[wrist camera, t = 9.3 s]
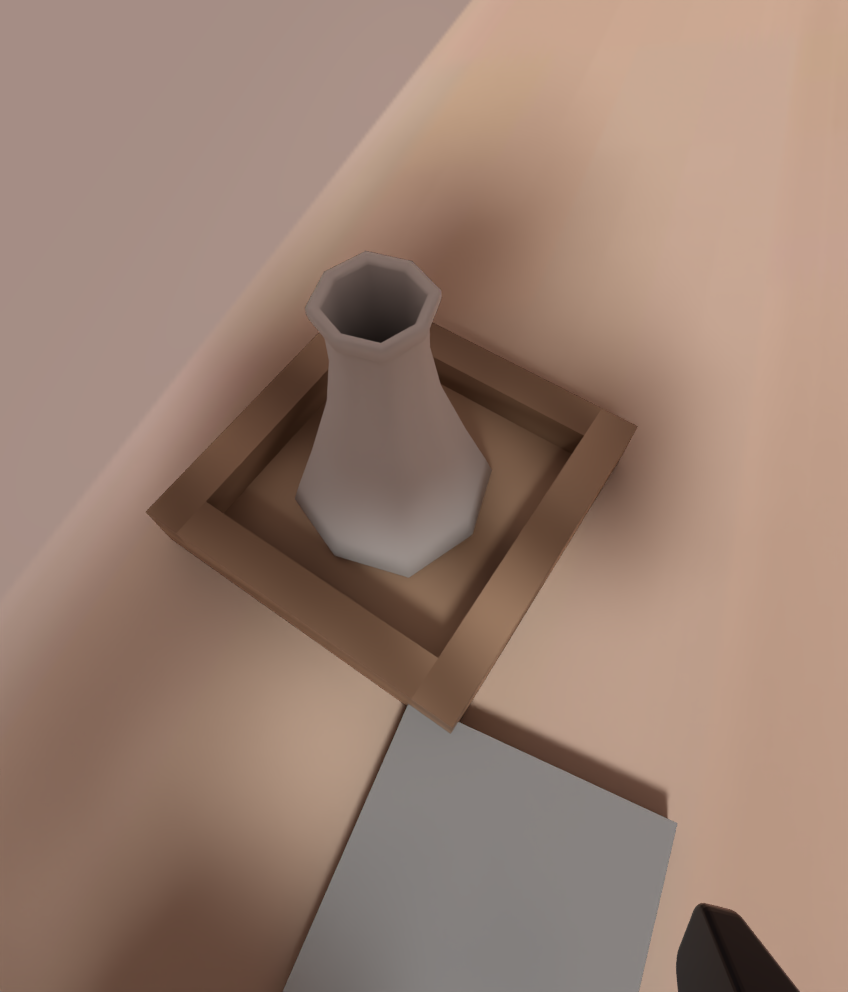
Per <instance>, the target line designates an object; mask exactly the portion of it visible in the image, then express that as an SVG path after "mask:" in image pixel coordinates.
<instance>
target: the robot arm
mask: <svg viewBox="0 0 848 992" xmlns="http://www.w3.org/2000/svg"><path fill="white" fill-rule="evenodd" d="M676 974H677V985H678V992H800V991H799V990H798V989H797V987H796V986H795V985H794V984H793V982H792V981H791V980H790V978H789V977H788V976H787V975H786V973H785V972H784V971H783V969H782V968H781V967H780V966H779V964H778V963H777V962H776V961H775V959H774V958H773V957H772V955H771V954H770V953H769V952H768V950H767V949H766V948H765V946H764V945H763V944H762V943H761V941H760V940H759V939H758V938H757V936H756V935H755V934H754V932H753V931H752V930H751V929H750V927H749V926H748V925H747V923H746V922H745V921H744V920H743V919H742V917H741V916H740V915H738V914H737V913H736V912H735V911H733V910H730V909H726V908H722V907H718V906H714V905H710V904H706V903H700V904H698V905H697V906H696V907H695V909H694V911H693V913H692V916H691V919H690V921H689V924H688V926H687V929H686V931H685V934H684V937H683V939H682V942H681V944H680V947H679V950H678V954H677V962H676Z"/></svg>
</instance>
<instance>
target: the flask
mask: <svg viewBox="0 0 848 992" xmlns="http://www.w3.org/2000/svg"><path fill="white" fill-rule="evenodd" d="M441 298H442V291H441V290H440V289H439V288H438V287H437V286H436V285H435V284H434V283H433V282H432V281H431V280H430V279H429V277H428V276H427V275H426V274H425V273H424V272H423V271H422V270H421V269H420V268H419V267H418V266H417V265H416V264H415V263H414V262H413V261H410V260H405V259H401V258H396V257H391V256H387V255H382V254H378V253H373V252H369V251H365V252H363V253H361V254H359V255H357V256H355V257H353V258H351V259H349V260H347V261H345V262H343V263H341V264H339V265H337V266H335V267H333V268H331V269H329V270H327V271H325V272H324V273H323V275H322V277H321V278H320V280H319V282H318V284H317V286H316V288H315V290H314V292H313V293H312V295H311V297H310V299H309V301H308V303H307V305H306V307H305V311H306V315H307V317H308V318H309V320H310V321H311V323H312V324H313V325H314V326H315V327H316V329H317V330H318V331H319V332H320V333H321V335H322V336H323V337H324V338H325V343H326V348H327V353H328V358H329V368H328V387H327V402H326V405H325V408H324V412H323V415H322V418H321V422H320V425H319V428H318V432H317V435H316V438H315V442H314V445H313V448H312V451H311V454H310V457H309V459H308V462H307V465H306V468H305V470H304V473H303V476H302V478H301V481H300V484H299V487H298V490H297V493H296V496H295V500H296V501H297V503H298V504H299V506H300V507H301V508H302V510H303V511H304V513H305V514H306V516H307V517H308V518H309V520H310V521H311V523H312V524H313V526H314V527H315V528H316V530H317V531H318V533H319V534H320V536H321V537H322V539H323V540H324V541H325V543H326V544H327V546H328V547H329V549H330V550H331V551H332V553H333V554H334V556H338V557H341V558H344V559H348V560H351V561H354V562H358V563H361V564H364V565H368V566H371V567H374V568H378V569H381V570H385V571H388V572H391V573H395V574H398V575H401V576H405V577H408V578H409V577H411V576H412V575H414V574H415V573H417V572H418V571H420V570H421V569H423V568H424V567H426V566H427V565H428V564H430V563H431V562H433V561H434V560H436V559H437V558H439V557H440V556H442V555H443V554H445V553H446V552H448V551H449V550H451V549H452V548H453V547H455V546H456V545H458V544H459V543H461V542H462V541H464V540H465V539H467V538H468V537H470V536H471V535H472V534H473V531H474V528H475V524H476V521H477V518H478V514H479V511H480V508H481V505H482V501H483V498H484V495H485V491H486V488H487V485H488V482H489V478H490V475H491V472H492V469H491V468H490V466H489V464H488V462H487V461H486V459H485V457H484V456H483V454H482V453H481V451H480V450H479V448H478V447H477V445H476V444H475V442H474V441H473V439H472V438H471V436H470V435H469V433H468V432H467V430H466V429H465V427H464V425H463V423H462V422H461V420H460V418H459V416H458V415H457V413H456V411H455V409H454V408H453V406H452V404H451V402H450V400H449V399H448V397H447V395H446V393H445V392H444V390H443V388H442V386H441V384H440V380H439V377H438V373H437V370H436V366H435V363H434V359H433V356H432V352H431V349H430V327H431V324H432V322H433V319H434V317H435V314H436V312H437V309H438V307H439V304H440V301H441Z"/></svg>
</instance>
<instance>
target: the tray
mask: <svg viewBox="0 0 848 992" xmlns="http://www.w3.org/2000/svg"><path fill="white" fill-rule="evenodd" d="M430 349H431V352H432V356H433V359H434V363H435V366H436V370H437V373H438V377H439V380H440V384H441V386H442V388H443V390H444V392H445V393H446V395H447V397H448V399H449V400H450V402H451V404H452V406H453V408H454V409H455V411H456V413H457V415H458V416H459V418H460V420H461V422H462V423H463V425H464V427H465V429H466V430H467V432H468V433H469V435H470V436H471V438H472V439H473V441H474V442H475V444H476V445H477V447H478V448H479V450H480V451H481V453H482V454H483V456H484V457H485V459H486V461H487V462H488V464H489V466H490V468H491V469H492V472H491V475H490V478H489V482H488V485H487V488H486V491H485V495H484V498H483V501H482V505H481V508H480V511H479V514H478V518H477V521H476V524H475V528H474V531H473V534H472V535H471V536H470V537H468V538H467V539H465V540H464V541H462V542H461V543H459V544H458V545H456V546H455V547H453V548H452V549H451V550H449V551H448V552H446V553H445V554H443V555H442V556H440V557H439V558H437V559H436V560H434V561H433V562H431V563H430V564H428V565H427V566H426V567H424V568H423V569H421V570H420V571H418V572H417V573H415V574H414V575H412V576H411V577H409V578H408V577H405V576H401V575H398V574H395V573H391V572H388V571H385V570H381V569H378V568H374V567H371V566H368V565H364V564H361V563H358V562H354V561H351V560H348V559H344V558H341V557H338V556H334V554H333V553H332V551H331V550H330V549H329V547H328V546H327V544H326V543H325V541H324V540H323V539H322V537H321V536H320V534H319V533H318V531H317V530H316V528H315V527H314V526H313V524H312V523H311V521H310V520H309V518H308V517H307V516H306V514H305V513H304V511H303V510H302V508H301V507H300V506H299V504H298V503H297V501H296V500H295V496H296V493H297V490H298V487H299V484H300V481H301V478H302V476H303V473H304V470H305V468H306V465H307V462H308V459H309V457H310V454H311V451H312V448H313V445H314V442H315V438H316V435H317V432H318V428H319V425H320V422H321V418H322V415H323V412H324V408H325V405H326V402H327V387H328V368H329V358H328V353H327V348H326V343H325V338H324V337H323V336H322V335H321V333H320V332H319V333H318V334H317V335H316V336H315V337H314V338H313V339H312V340H311V341H310V343H309V344H308V345H307V346H306V347H305V348H304V349H303V350H302V351H301V352H300V353H299V354H298V355H297V356H296V357H295V358H294V359H293V360H292V361H291V362H290V363H289V364H288V365H287V366H286V367H285V368H284V369H283V370H282V371H281V372H280V374H279V375H278V376H277V377H276V378H275V379H274V380H273V381H272V382H271V383H270V384H269V385H268V386H267V387H266V388H265V389H264V390H263V391H262V392H261V393H260V394H259V395H258V396H257V397H256V398H255V399H254V400H253V401H252V402H251V404H250V405H249V406H248V407H247V408H246V409H245V410H244V411H243V412H242V413H241V414H240V415H239V416H238V417H237V418H236V419H235V420H234V421H233V422H232V423H231V424H230V425H229V426H228V427H227V428H226V429H225V430H224V431H223V432H222V434H221V435H220V436H219V437H218V438H217V439H216V440H215V441H214V442H213V443H212V444H211V445H210V446H209V447H208V448H207V449H206V450H205V451H204V452H203V453H202V454H201V455H200V456H199V457H198V458H197V459H196V460H195V461H194V462H193V463H192V465H191V466H190V467H189V468H188V469H187V470H186V471H185V472H184V473H183V474H182V475H181V476H180V477H179V478H178V479H177V480H176V481H175V482H174V483H173V484H172V485H171V486H170V487H169V488H168V489H167V490H166V491H165V492H164V493H163V495H162V496H161V497H160V498H159V499H158V500H157V501H156V502H155V503H154V504H153V505H152V506H151V507H150V508H149V509H148V510H147V511H146V513H147V514H148V515H149V516H150V517H151V518H152V519H153V520H154V521H155V522H156V523H157V524H158V525H159V526H160V527H161V528H162V530H163V531H164V532H165V533H166V534H167V535H168V536H169V537H170V538H171V539H172V540H173V541H175V542H176V543H178V544H179V545H181V546H182V547H183V548H185V549H186V550H188V551H189V552H190V553H192V554H193V555H195V556H196V557H197V558H199V559H200V560H202V561H203V562H205V563H206V564H207V565H209V566H210V567H212V568H213V569H214V570H216V571H217V572H219V573H220V574H221V575H223V576H224V577H226V578H227V579H228V580H230V581H231V582H233V583H234V584H236V585H237V586H238V587H240V588H241V589H243V590H244V591H245V592H247V593H248V594H250V595H251V596H252V597H254V598H255V599H257V600H258V601H260V602H261V603H262V604H264V605H265V606H267V607H268V608H269V609H271V610H272V611H274V612H275V613H276V614H278V615H279V616H281V617H282V618H284V619H285V620H286V621H288V622H289V623H291V624H292V625H293V626H295V627H296V628H298V629H299V630H300V631H302V632H303V633H305V634H306V635H307V636H309V637H310V638H312V639H313V640H315V641H316V642H317V643H319V644H320V645H322V646H323V647H324V648H326V649H327V650H329V651H330V652H331V653H333V654H334V655H336V656H337V657H339V658H340V659H341V660H343V661H344V662H346V663H347V664H348V665H350V666H351V667H353V668H354V669H355V670H357V671H358V672H360V673H361V674H362V675H364V676H365V677H367V678H368V679H370V680H371V681H372V682H374V683H375V684H377V685H378V686H379V687H381V688H382V689H384V690H385V691H386V692H388V693H389V694H391V695H392V696H394V697H395V698H396V699H398V700H399V701H401V702H402V703H403V704H405V705H406V706H408V704H409V705H411V706H412V707H413V708H415V709H416V710H418V711H419V712H420V713H422V714H423V715H425V716H426V717H427V718H429V719H430V720H432V721H433V722H435V723H436V724H437V725H439V726H440V727H442V728H443V729H444V730H446V731H447V732H449V733H450V734H451V733H452V731H453V730H454V728H455V726H456V725H457V723H458V722H459V721H460V720H461V718H462V716H463V715H464V713H465V711H466V710H467V708H468V707H469V705H470V703H471V702H472V700H473V698H474V697H475V695H476V693H477V692H478V690H479V689H480V687H481V685H482V684H483V682H484V680H485V679H486V677H487V676H488V674H489V672H490V671H491V669H492V667H493V666H494V664H495V662H496V661H497V659H498V658H499V656H500V654H501V653H502V651H503V649H504V648H505V646H506V645H507V643H508V641H509V640H510V638H511V636H512V635H513V633H514V631H515V630H516V628H517V627H518V625H519V623H520V622H521V620H522V618H523V617H524V615H525V614H526V612H527V610H528V609H529V607H530V605H531V604H532V602H533V600H534V599H535V597H536V596H537V594H538V592H539V591H540V589H541V587H542V586H543V584H544V582H545V581H546V579H547V578H548V576H549V574H550V573H551V571H552V569H553V568H554V566H555V565H556V563H557V561H558V560H559V558H560V556H561V555H562V553H563V551H564V550H565V548H566V547H567V545H568V543H569V542H570V540H571V538H572V537H573V535H574V534H575V532H576V530H577V529H578V527H579V525H580V524H581V522H582V520H583V519H584V517H585V516H586V514H587V512H588V511H589V509H590V507H591V506H592V504H593V503H594V501H595V499H596V498H597V496H598V494H599V493H600V491H601V489H602V488H603V486H604V485H605V483H606V481H607V480H608V478H609V476H610V475H611V473H612V472H613V470H614V468H615V467H616V465H617V463H618V462H619V460H620V458H621V456H622V455H623V453H624V451H625V449H626V447H627V445H628V443H629V442H630V440H631V438H632V436H633V434H634V432H635V430H636V429H637V427H638V426H636V425H634V424H632V423H630V422H628V421H626V420H624V419H622V418H620V417H618V416H616V415H614V414H612V413H610V412H608V411H606V410H604V409H603V408H601V407H599V406H597V405H595V404H593V403H591V402H589V401H587V400H585V399H583V398H581V397H579V396H577V395H575V394H573V393H571V392H569V391H567V390H565V389H563V388H561V387H559V386H557V385H555V384H553V383H551V382H549V381H547V380H545V379H543V378H541V377H539V376H537V375H535V374H533V373H531V372H529V371H527V370H525V369H523V368H521V367H519V366H517V365H515V364H513V363H511V362H509V361H507V360H505V359H504V358H502V357H500V356H498V355H496V354H494V353H492V352H490V351H488V350H486V349H484V348H482V347H480V346H478V345H476V344H474V343H472V342H470V341H468V340H466V339H464V338H462V337H460V336H458V335H456V334H454V333H452V332H450V331H448V330H446V329H444V328H442V327H440V326H438V325H436V324H434V323H432V324H431V327H430Z"/></svg>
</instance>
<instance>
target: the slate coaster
mask: <svg viewBox="0 0 848 992" xmlns="http://www.w3.org/2000/svg"><path fill="white" fill-rule="evenodd" d="M676 827H677V823H676V822H673V821H671V820H669V819H667V818H665V817H663V816H660V815H658V814H656V813H654V812H652V811H650V810H648V809H645V808H643V807H641V806H639V805H637V804H635V803H632V802H630V801H628V800H626V799H624V798H622V797H619V796H617V795H615V794H613V793H611V792H609V791H607V790H604V789H602V788H600V787H598V786H596V785H594V784H591V783H589V782H587V781H585V780H583V779H581V778H578V777H576V776H574V775H572V774H570V773H568V772H565V771H563V770H561V769H559V768H557V767H555V766H553V765H550V764H548V763H546V762H544V761H542V760H540V759H537V758H535V757H533V756H531V755H529V754H527V753H524V752H522V751H520V750H518V749H516V748H514V747H512V746H509V745H507V744H505V743H503V742H501V741H499V740H496V739H494V738H492V737H490V736H488V735H486V734H483V733H481V732H479V731H477V730H475V729H473V728H471V727H468V726H466V725H464V724H462V723H460V722H458V723H457V725H456V726H455V728H454V730H453V731H452V733H451V734H450V733H449V732H447V731H446V730H444V729H443V728H442V727H440V726H439V725H437V724H436V723H435V722H433V721H432V720H430V719H429V718H427V717H426V716H425V715H423V714H422V713H420V712H419V711H418V710H416V709H415V708H413V707H412V706H411V705H409V704H408V706H407V708H406V710H405V712H404V715H403V717H402V719H401V722H400V724H399V726H398V728H397V731H396V733H395V735H394V738H393V740H392V742H391V744H390V747H389V749H388V751H387V754H386V756H385V758H384V761H383V763H382V765H381V767H380V770H379V772H378V774H377V777H376V779H375V781H374V783H373V786H372V788H371V790H370V793H369V795H368V797H367V799H366V802H365V804H364V806H363V809H362V811H361V813H360V815H359V818H358V820H357V822H356V825H355V827H354V829H353V832H352V834H351V836H350V838H349V841H348V843H347V845H346V848H345V850H344V852H343V854H342V857H341V859H340V861H339V864H338V866H337V868H336V870H335V873H334V875H333V877H332V880H331V882H330V884H329V887H328V889H327V891H326V893H325V896H324V898H323V900H322V903H321V905H320V907H319V909H318V912H317V914H316V916H315V919H314V921H313V923H312V925H311V928H310V930H309V932H308V935H307V937H306V939H305V941H304V944H303V946H302V948H301V951H300V953H299V955H298V958H297V960H296V962H295V964H294V967H293V969H292V971H291V974H290V976H289V978H288V980H287V983H286V985H285V987H284V990H283V992H639V988H640V984H641V980H642V975H643V971H644V967H645V962H646V958H647V954H648V949H649V945H650V941H651V936H652V932H653V927H654V923H655V919H656V914H657V910H658V906H659V901H660V897H661V893H662V888H663V884H664V880H665V875H666V871H667V866H668V862H669V858H670V853H671V849H672V845H673V840H674V836H675V832H676Z"/></svg>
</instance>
